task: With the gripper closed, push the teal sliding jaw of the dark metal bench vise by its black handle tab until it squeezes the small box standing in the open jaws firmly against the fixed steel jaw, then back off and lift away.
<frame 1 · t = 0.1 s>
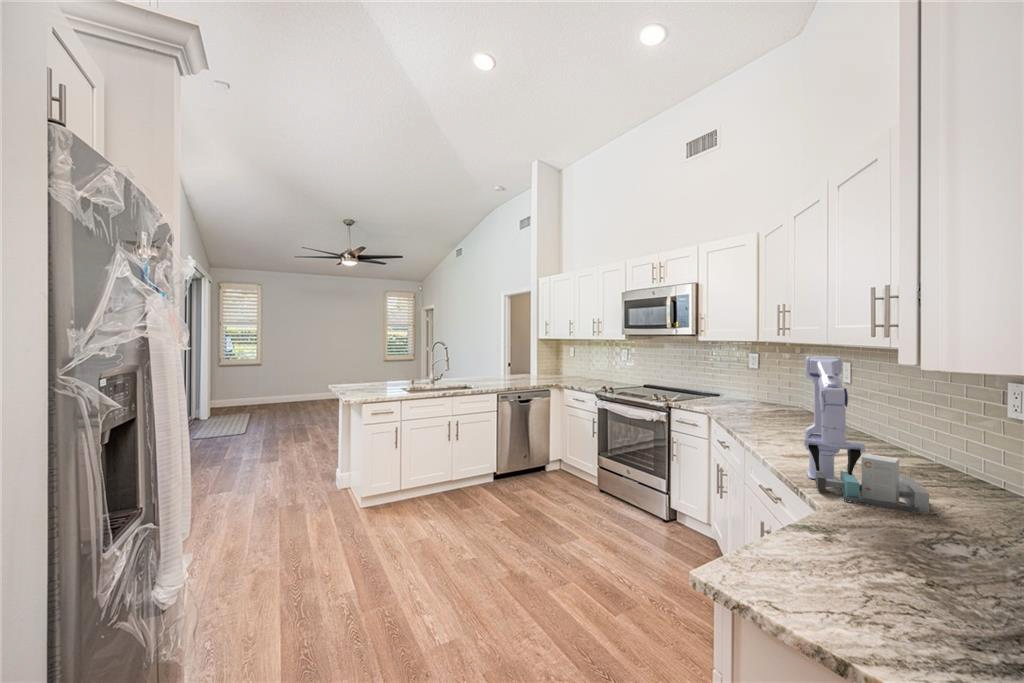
hand: (833, 472, 123), 10 cm above the counter, tool pointing down, fingers open, 7 cm apart
small box: (880, 499, 127), resting in vise
vise: (880, 499, 127), on the counter
sliding jaw: (835, 483, 133), point 3 cm above the counter, slide at -4.0 cm
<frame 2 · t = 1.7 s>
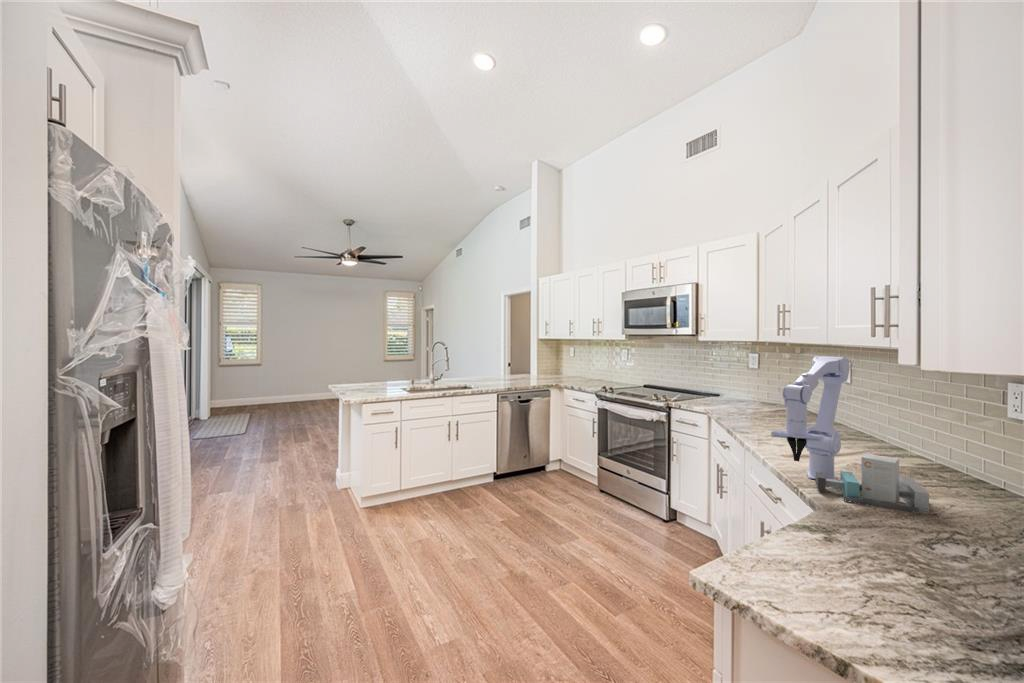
hand: (796, 460, 138), 9 cm above the counter, tool pointing down, fingers closed
nothing on the counter moved.
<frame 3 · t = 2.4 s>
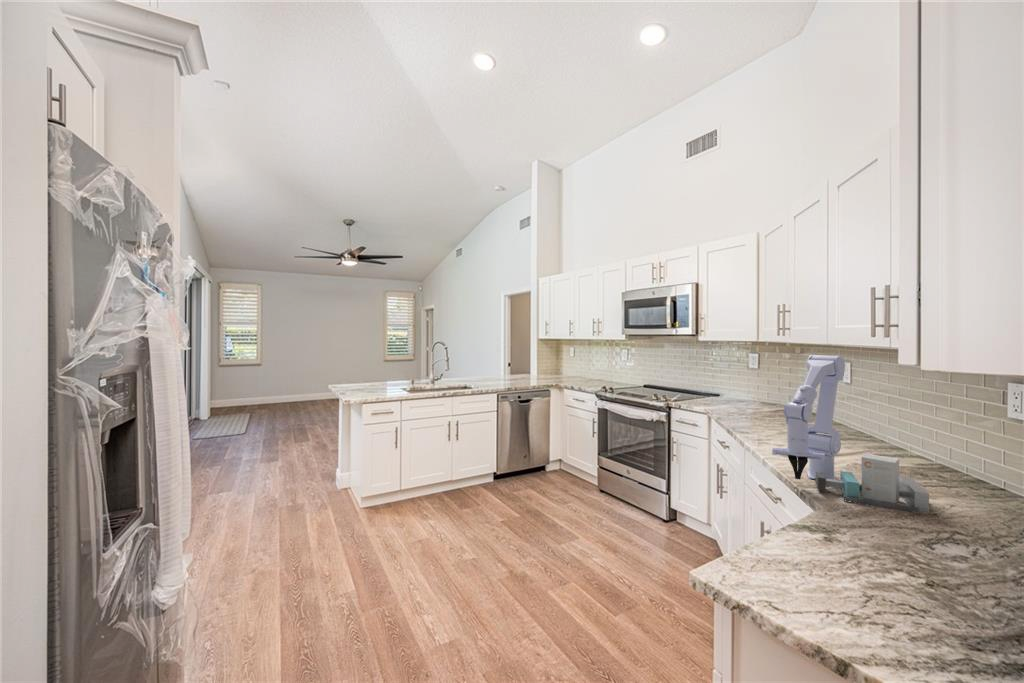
hand: (797, 478, 138), 3 cm above the counter, tool pointing down, fingers closed
nothing on the counter moved.
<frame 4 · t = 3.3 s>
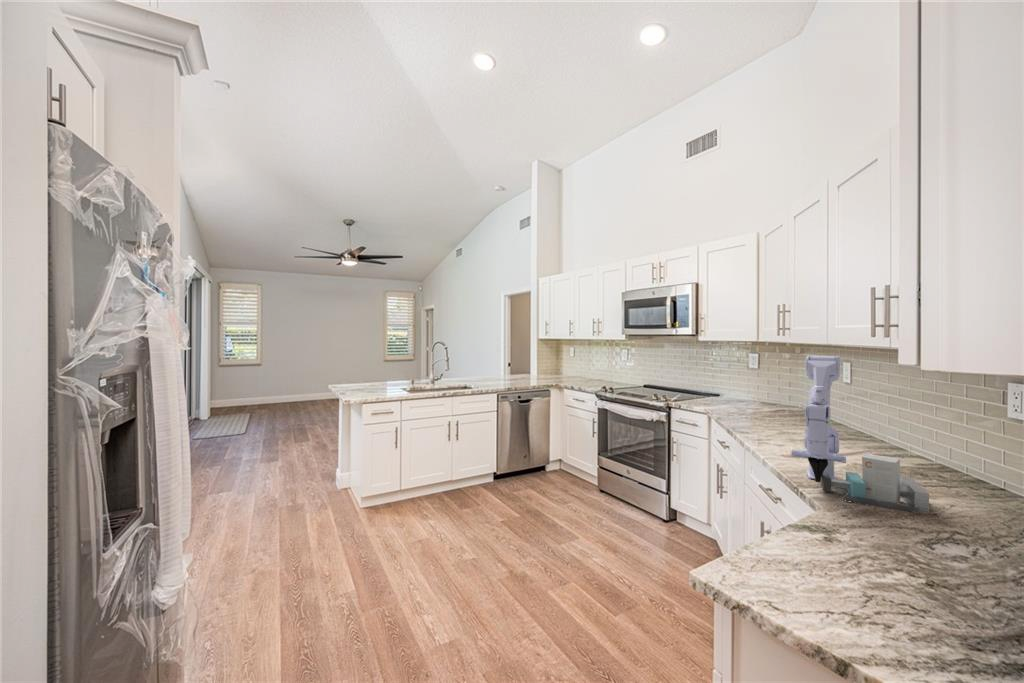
hand: (817, 481, 135), 3 cm above the counter, tool pointing down, fingers closed
small box: (881, 499, 127), resting in vise, touching sliding jaw
sliding jaw: (841, 484, 132), point 3 cm above the counter, slide at -2.6 cm, touching gripper, small box
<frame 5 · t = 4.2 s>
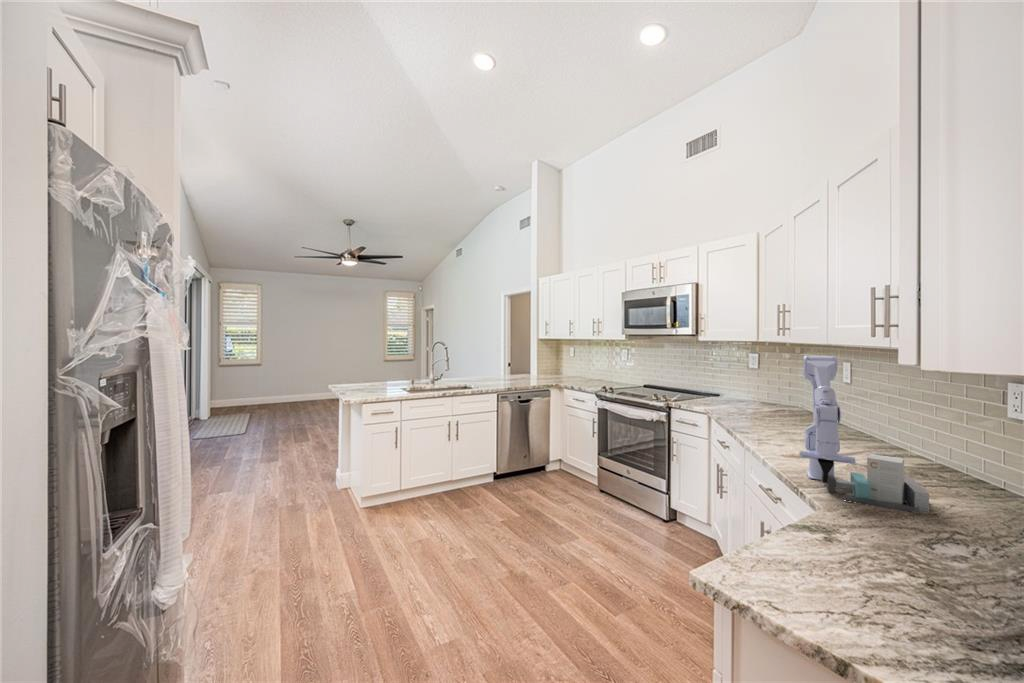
hand: (825, 482, 134), 3 cm above the counter, tool pointing down, fingers closed, pressing on sliding jaw
small box: (885, 500, 127), resting in vise, touching sliding jaw
sliding jaw: (846, 484, 131), point 3 cm above the counter, slide at -1.3 cm, touching gripper, small box
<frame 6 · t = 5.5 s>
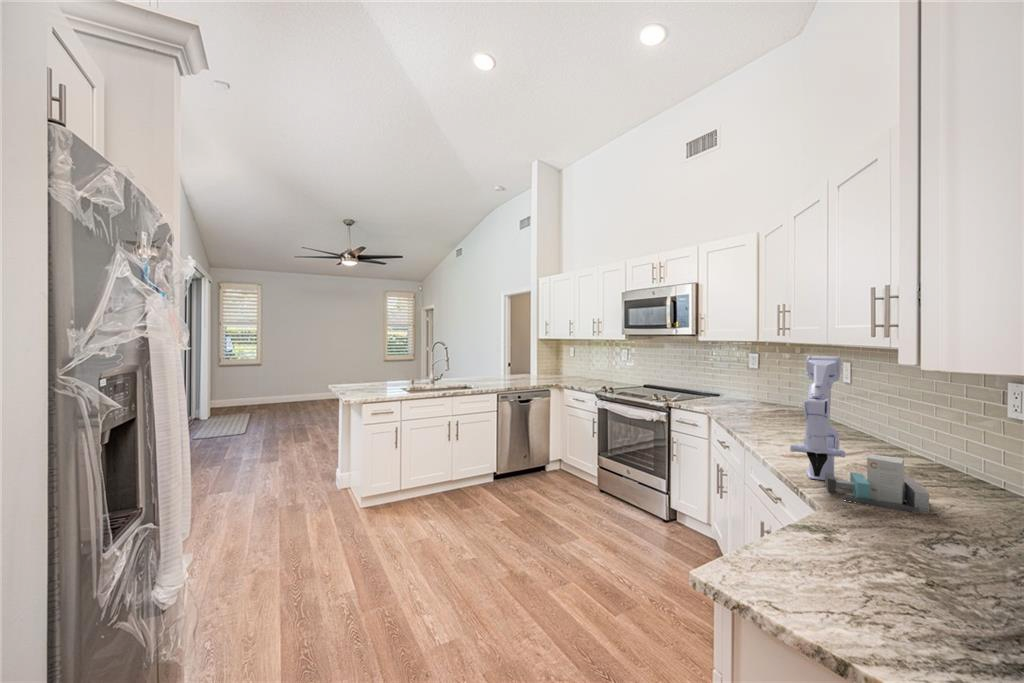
hand: (816, 475, 135), 5 cm above the counter, tool pointing down, fingers closed
small box: (885, 500, 127), resting in vise
sliding jaw: (845, 484, 131), point 3 cm above the counter, slide at -1.4 cm
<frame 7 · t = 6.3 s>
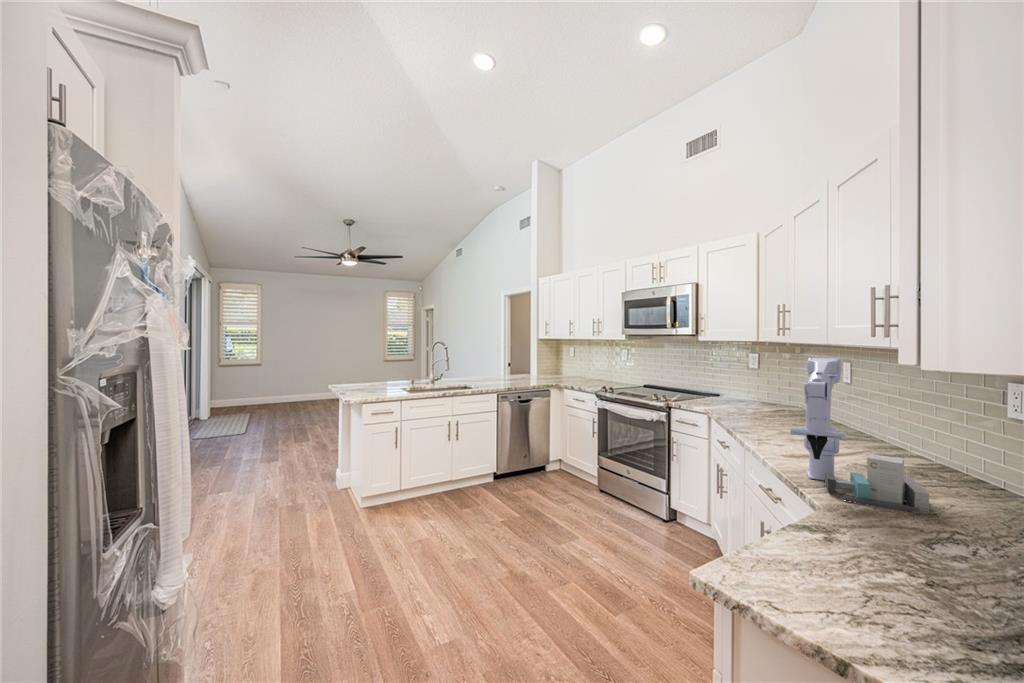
hand: (816, 458, 135), 10 cm above the counter, tool pointing down, fingers closed
nothing on the counter moved.
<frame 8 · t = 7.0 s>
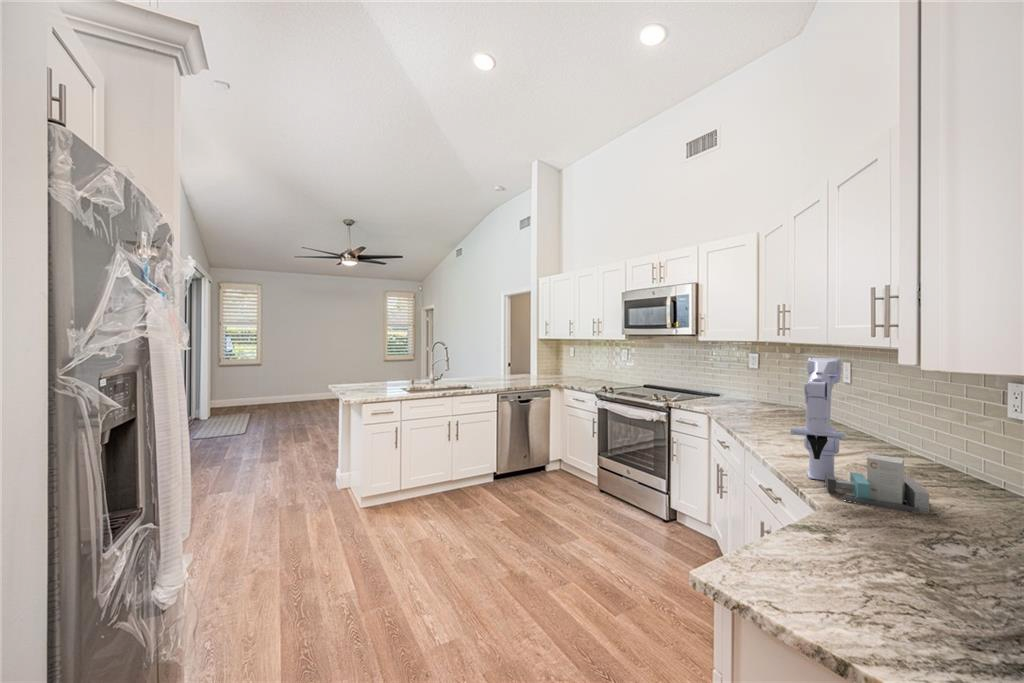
hand: (816, 458, 135), 10 cm above the counter, tool pointing down, fingers closed
nothing on the counter moved.
at the end: sliding jaw slide at -1.4 cm; small box 0.5 cm from the target spot on the vise, point 0.0 cm above the vise's base; small box tilted 0° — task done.
